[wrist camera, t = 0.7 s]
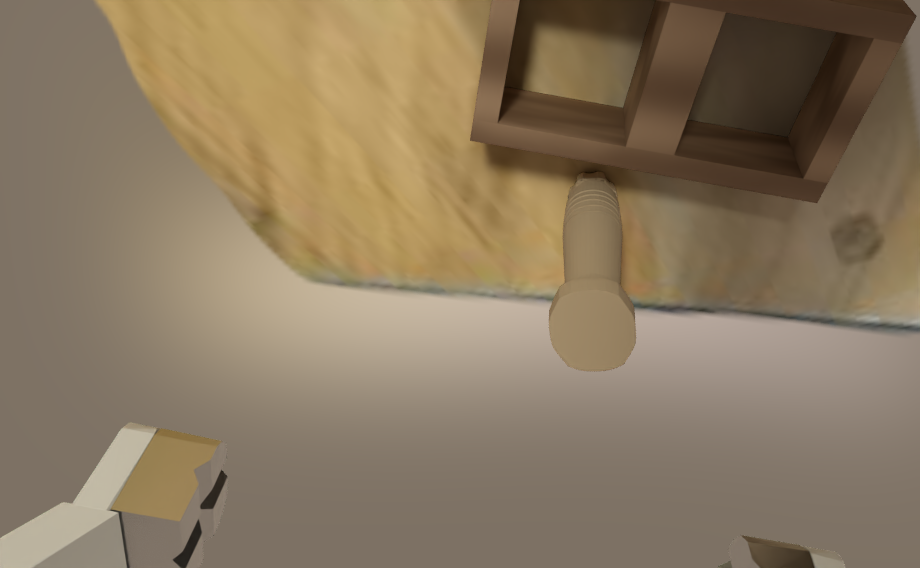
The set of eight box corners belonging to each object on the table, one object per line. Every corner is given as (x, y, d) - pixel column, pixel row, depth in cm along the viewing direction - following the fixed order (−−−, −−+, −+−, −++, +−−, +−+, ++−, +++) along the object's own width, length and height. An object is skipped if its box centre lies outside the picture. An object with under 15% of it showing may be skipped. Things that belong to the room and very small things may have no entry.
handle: (563, 226, 58) (555, 372, 47) (553, 151, 54) (543, 292, 43) (628, 221, 57) (637, 370, 45) (624, 145, 53) (633, 287, 41)
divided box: (508, -85, 44) (500, -58, 40) (888, -18, 44) (916, 16, 40) (478, 103, 52) (470, 140, 48) (800, 160, 52) (817, 203, 48)
